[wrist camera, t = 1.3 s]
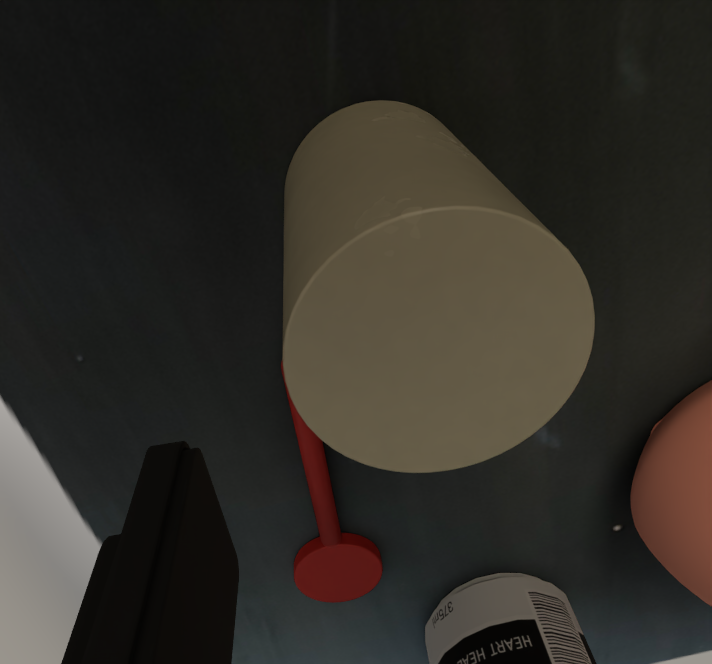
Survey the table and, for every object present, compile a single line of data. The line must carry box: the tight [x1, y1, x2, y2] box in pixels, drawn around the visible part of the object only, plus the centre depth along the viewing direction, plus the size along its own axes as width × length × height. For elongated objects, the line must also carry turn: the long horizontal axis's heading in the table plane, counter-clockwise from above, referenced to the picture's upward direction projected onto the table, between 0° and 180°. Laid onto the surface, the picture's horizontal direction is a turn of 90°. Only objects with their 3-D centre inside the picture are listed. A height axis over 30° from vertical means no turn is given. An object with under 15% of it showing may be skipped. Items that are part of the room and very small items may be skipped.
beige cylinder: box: [283, 100, 595, 473], centre depth 16 cm, size 6×6×10 cm
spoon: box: [281, 360, 383, 602], centre depth 27 cm, size 15×4×1 cm, turn 7°
